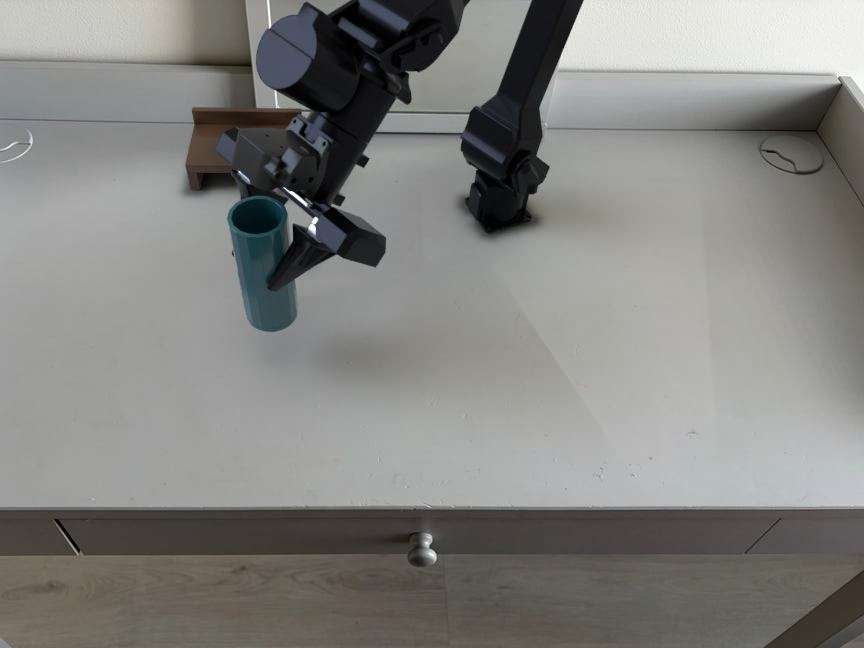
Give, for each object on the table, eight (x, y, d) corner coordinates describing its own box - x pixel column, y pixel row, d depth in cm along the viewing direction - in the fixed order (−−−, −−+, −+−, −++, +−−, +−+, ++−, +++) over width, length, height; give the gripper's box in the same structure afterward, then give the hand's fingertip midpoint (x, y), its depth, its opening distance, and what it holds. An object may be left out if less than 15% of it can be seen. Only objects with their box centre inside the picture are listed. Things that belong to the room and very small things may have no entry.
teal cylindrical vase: (301, 294, 80) (290, 197, 69) (294, 333, 77) (283, 238, 66) (250, 291, 80) (232, 194, 69) (242, 330, 77) (222, 235, 66)
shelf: (304, 146, 105) (301, 108, 100) (300, 191, 99) (297, 153, 95) (200, 145, 104) (192, 106, 100) (190, 190, 99) (181, 151, 94)
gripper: (215, 44, 65) (132, 202, 70) (360, 153, 57) (255, 324, 62) (296, 90, 75) (218, 226, 79) (430, 189, 67) (335, 335, 71)
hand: (253, 273), depth 72 cm, fingers closed on teal cylindrical vase, 5 cm apart
